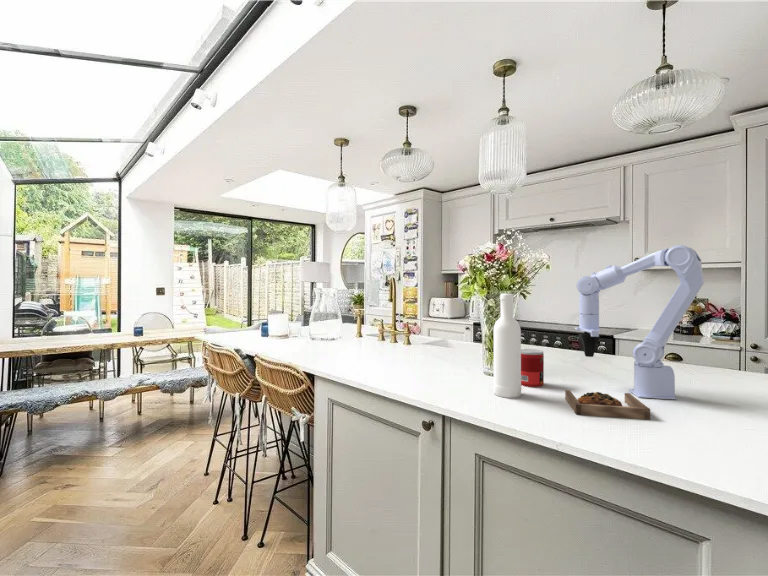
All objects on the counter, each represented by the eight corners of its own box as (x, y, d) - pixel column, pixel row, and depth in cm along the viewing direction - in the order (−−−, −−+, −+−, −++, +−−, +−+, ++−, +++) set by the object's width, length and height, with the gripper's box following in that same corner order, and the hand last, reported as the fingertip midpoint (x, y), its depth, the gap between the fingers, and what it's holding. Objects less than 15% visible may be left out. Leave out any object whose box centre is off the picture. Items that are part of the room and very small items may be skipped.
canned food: (546, 387, 126) (545, 353, 125) (519, 386, 127) (519, 352, 127) (541, 381, 133) (540, 349, 133) (516, 381, 135) (515, 348, 134)
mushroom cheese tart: (601, 416, 99) (599, 395, 99) (567, 409, 109) (565, 390, 110) (633, 412, 102) (631, 392, 103) (597, 406, 113) (595, 388, 113)
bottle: (496, 398, 115) (496, 294, 114) (490, 390, 123) (490, 293, 122) (525, 398, 114) (524, 294, 114) (517, 390, 122) (516, 293, 122)
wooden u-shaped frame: (629, 402, 110) (629, 393, 110) (650, 419, 96) (650, 409, 96) (565, 398, 114) (565, 389, 114) (576, 414, 100) (576, 404, 100)
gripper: (570, 312, 135) (570, 352, 135) (580, 315, 121) (580, 360, 121) (593, 312, 134) (593, 352, 134) (606, 316, 119) (606, 361, 120)
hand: (589, 356), depth 127 cm, fingers closed
